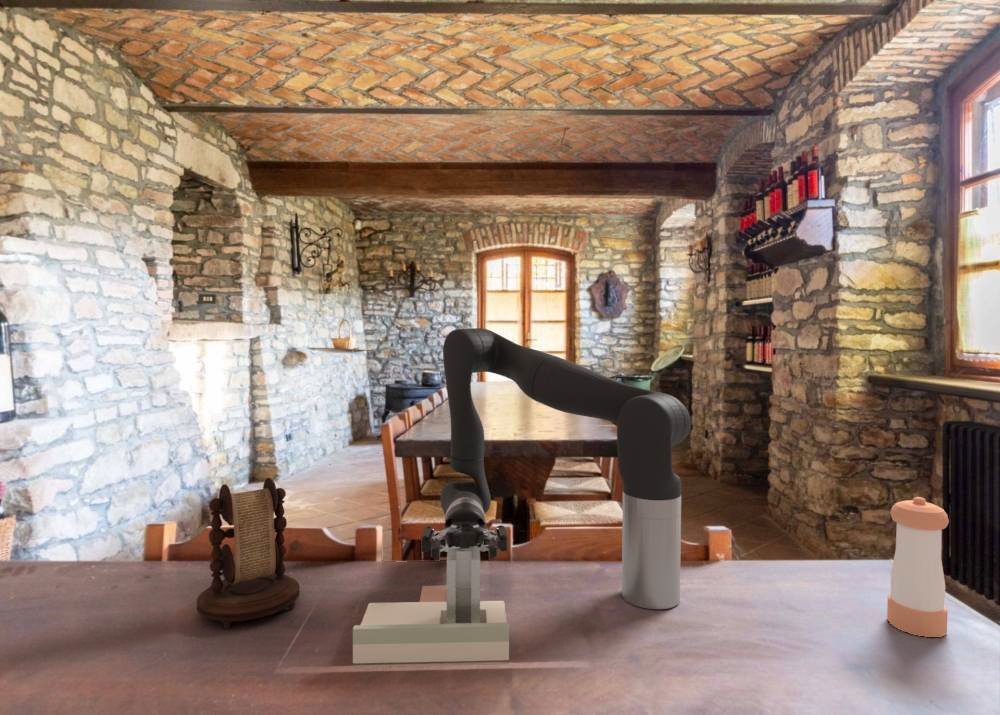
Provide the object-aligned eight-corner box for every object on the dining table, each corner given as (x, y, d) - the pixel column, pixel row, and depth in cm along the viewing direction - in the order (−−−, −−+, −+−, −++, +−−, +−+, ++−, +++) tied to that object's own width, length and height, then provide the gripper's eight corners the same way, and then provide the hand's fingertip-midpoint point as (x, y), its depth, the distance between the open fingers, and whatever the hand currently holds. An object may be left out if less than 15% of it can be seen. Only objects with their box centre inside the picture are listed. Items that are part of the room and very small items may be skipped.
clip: (447, 631, 85) (448, 548, 84) (479, 631, 85) (479, 548, 85) (446, 648, 80) (446, 560, 80) (479, 647, 80) (480, 559, 80)
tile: (422, 589, 100) (422, 585, 100) (470, 588, 100) (470, 585, 100) (418, 611, 92) (418, 607, 92) (470, 610, 92) (470, 606, 92)
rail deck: (369, 622, 88) (369, 589, 88) (503, 620, 89) (504, 587, 89) (352, 667, 76) (352, 629, 76) (508, 664, 77) (509, 626, 77)
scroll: (213, 642, 82) (211, 499, 82) (185, 606, 93) (183, 479, 93) (315, 610, 92) (314, 482, 91) (279, 581, 103) (278, 466, 102)
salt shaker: (939, 620, 89) (943, 494, 89) (953, 642, 83) (956, 506, 82) (883, 611, 92) (886, 489, 92) (891, 631, 86) (894, 500, 85)
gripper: (426, 502, 109) (418, 531, 92) (503, 501, 109) (509, 530, 93) (426, 543, 109) (418, 578, 93) (503, 542, 110) (509, 577, 93)
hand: (464, 554), depth 93 cm, fingers open, 8 cm apart
